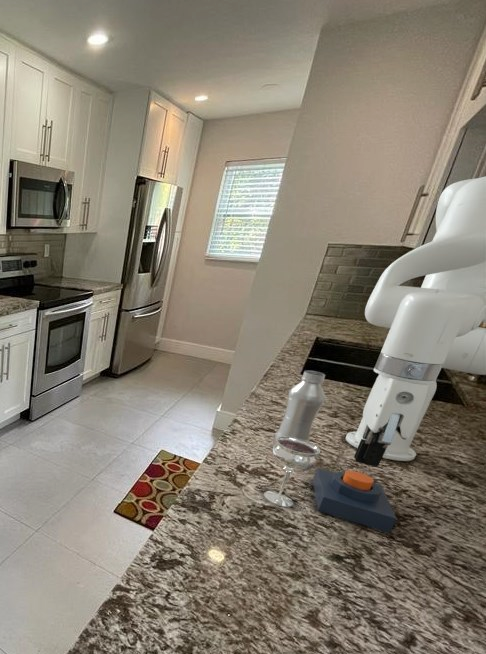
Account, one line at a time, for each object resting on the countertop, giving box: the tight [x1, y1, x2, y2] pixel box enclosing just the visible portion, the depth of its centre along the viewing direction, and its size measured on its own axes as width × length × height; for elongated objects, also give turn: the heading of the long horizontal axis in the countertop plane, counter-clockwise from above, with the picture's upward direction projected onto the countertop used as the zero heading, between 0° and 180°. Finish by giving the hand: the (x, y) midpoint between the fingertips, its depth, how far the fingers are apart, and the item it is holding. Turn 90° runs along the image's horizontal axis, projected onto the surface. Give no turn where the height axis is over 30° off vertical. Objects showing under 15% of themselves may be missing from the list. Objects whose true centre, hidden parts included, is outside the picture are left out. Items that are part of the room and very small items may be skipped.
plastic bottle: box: [272, 369, 326, 446], centre depth 93 cm, size 6×7×20 cm
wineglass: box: [263, 436, 321, 507], centre depth 77 cm, size 7×7×12 cm
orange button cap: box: [343, 470, 375, 490], centre depth 77 cm, size 4×4×2 cm
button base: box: [312, 467, 397, 534], centre depth 78 cm, size 12×10×5 cm
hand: (365, 462), depth 75 cm, fingers closed
